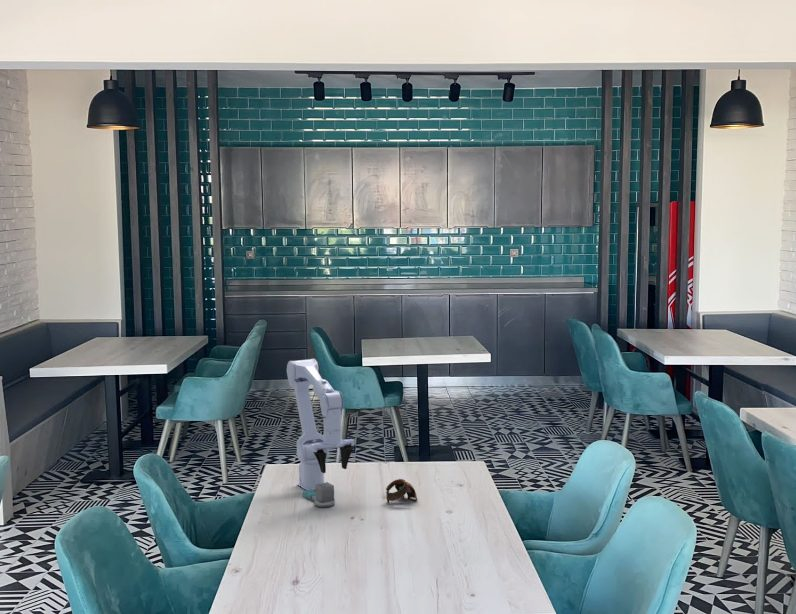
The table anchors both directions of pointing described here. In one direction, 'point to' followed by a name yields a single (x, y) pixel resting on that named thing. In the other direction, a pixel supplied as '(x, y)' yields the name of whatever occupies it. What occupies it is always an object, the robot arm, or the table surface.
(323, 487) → the socket
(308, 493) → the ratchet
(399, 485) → the brown openwork dome
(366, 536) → the table surface
